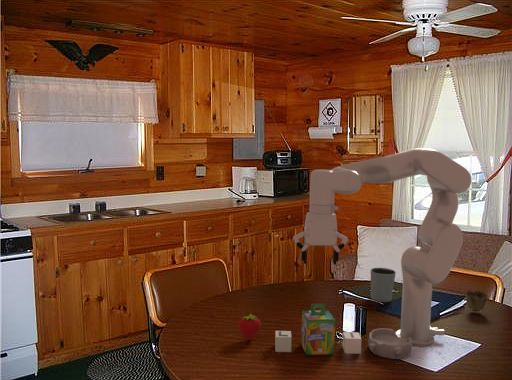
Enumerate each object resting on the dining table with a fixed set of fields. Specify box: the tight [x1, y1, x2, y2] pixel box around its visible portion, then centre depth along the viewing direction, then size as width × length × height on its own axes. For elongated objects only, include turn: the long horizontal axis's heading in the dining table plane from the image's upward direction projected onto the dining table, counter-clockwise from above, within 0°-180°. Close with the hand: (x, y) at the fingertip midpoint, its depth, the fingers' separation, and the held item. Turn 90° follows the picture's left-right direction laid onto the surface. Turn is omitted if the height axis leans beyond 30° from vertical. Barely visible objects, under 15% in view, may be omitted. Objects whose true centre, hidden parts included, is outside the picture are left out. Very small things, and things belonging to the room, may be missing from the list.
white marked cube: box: [274, 330, 293, 353], centre depth 167 cm, size 5×5×5 cm
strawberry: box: [238, 312, 262, 341], centre depth 173 cm, size 6×8×10 cm
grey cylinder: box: [370, 267, 397, 303], centre depth 217 cm, size 10×10×12 cm
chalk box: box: [300, 303, 336, 356], centre depth 166 cm, size 9×9×15 cm
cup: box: [466, 290, 488, 315], centre depth 201 cm, size 8×7×8 cm
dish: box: [367, 327, 413, 360], centre depth 167 cm, size 14×14×5 cm
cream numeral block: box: [342, 331, 362, 355], centre depth 167 cm, size 5×5×5 cm
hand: (319, 263), depth 164 cm, fingers open, 9 cm apart
